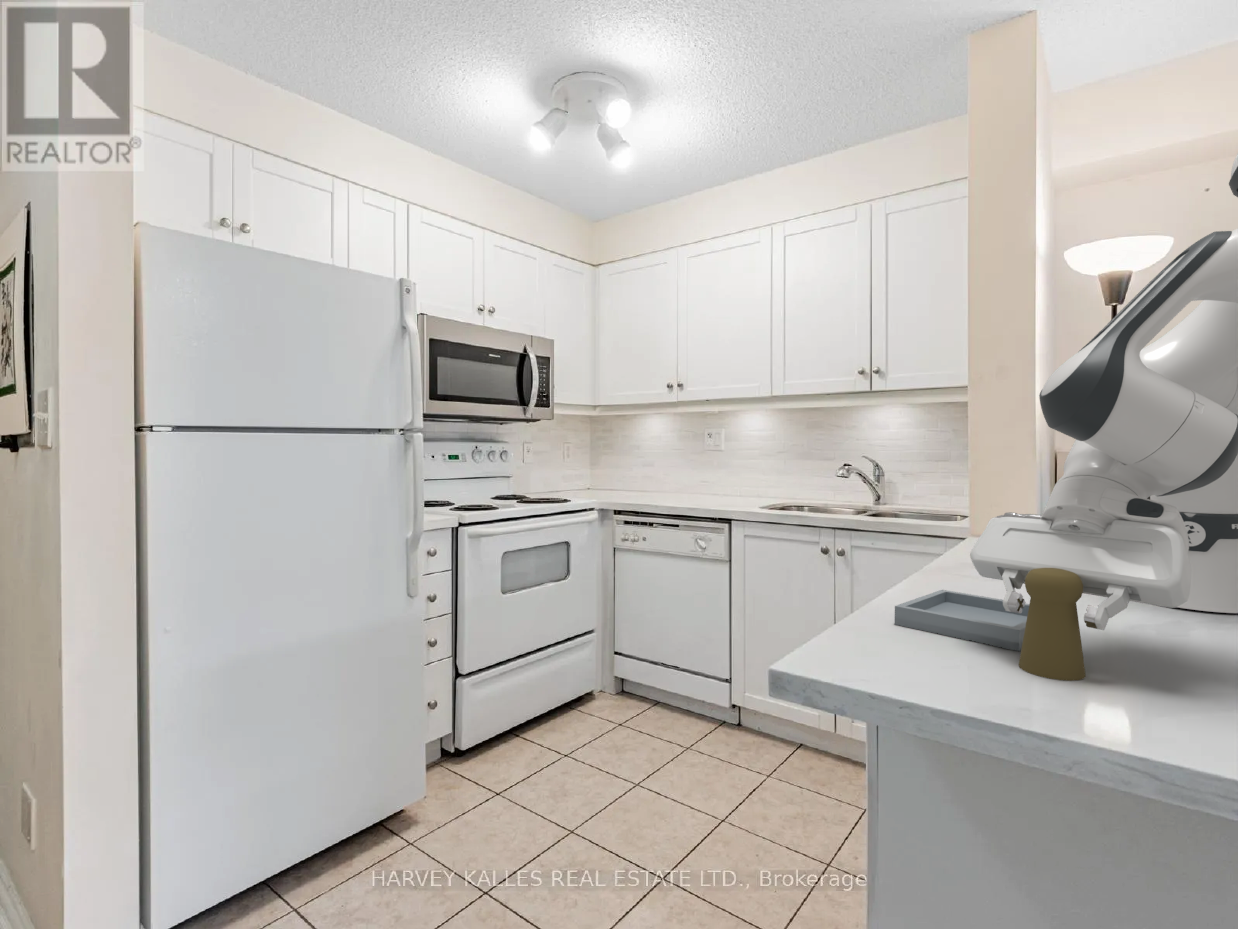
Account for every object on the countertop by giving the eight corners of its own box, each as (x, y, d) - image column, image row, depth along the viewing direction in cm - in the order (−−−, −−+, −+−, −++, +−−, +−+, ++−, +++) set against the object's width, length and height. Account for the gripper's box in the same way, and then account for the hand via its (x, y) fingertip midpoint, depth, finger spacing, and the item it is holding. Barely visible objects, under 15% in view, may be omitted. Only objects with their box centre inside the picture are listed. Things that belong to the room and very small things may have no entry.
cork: (1099, 681, 67) (1102, 575, 67) (1040, 680, 67) (1043, 574, 67) (1061, 661, 73) (1063, 564, 73) (1006, 660, 73) (1008, 563, 73)
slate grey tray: (941, 606, 98) (942, 589, 97) (1058, 627, 86) (1058, 609, 86) (894, 624, 88) (894, 606, 88) (1019, 651, 76) (1019, 630, 76)
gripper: (985, 495, 82) (943, 581, 77) (1197, 509, 65) (1162, 620, 60) (1001, 527, 85) (962, 613, 79) (1209, 549, 68) (1176, 659, 63)
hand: (1050, 617), depth 69 cm, fingers open, 6 cm apart
